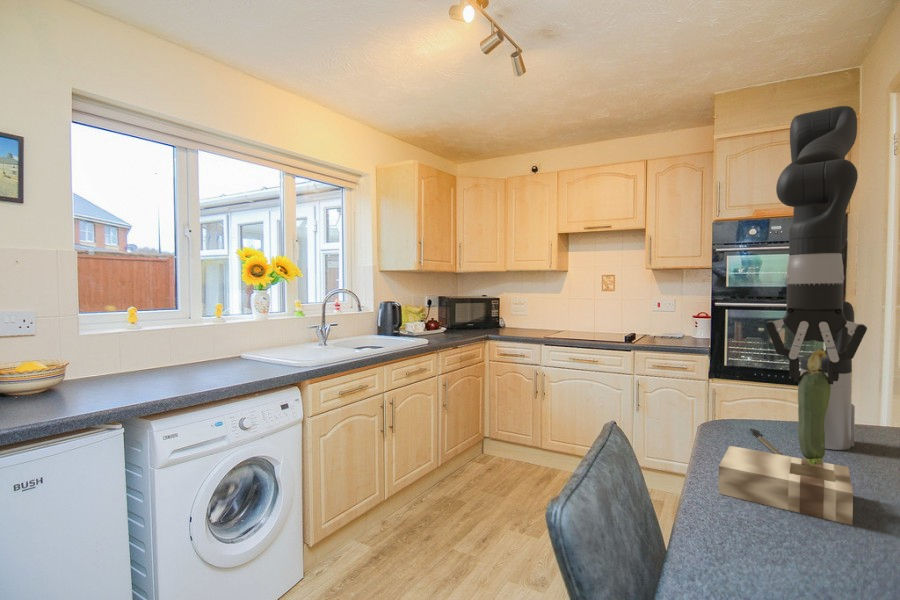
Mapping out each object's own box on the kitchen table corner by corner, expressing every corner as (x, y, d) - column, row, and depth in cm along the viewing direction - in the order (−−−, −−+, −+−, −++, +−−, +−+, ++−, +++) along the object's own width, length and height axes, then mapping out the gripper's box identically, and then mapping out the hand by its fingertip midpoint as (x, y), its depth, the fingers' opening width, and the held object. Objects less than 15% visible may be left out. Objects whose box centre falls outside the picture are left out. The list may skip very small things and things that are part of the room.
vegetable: (790, 459, 81) (791, 346, 80) (813, 458, 81) (814, 345, 81) (812, 469, 77) (813, 350, 76) (836, 468, 77) (838, 349, 76)
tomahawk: (812, 470, 95) (813, 465, 95) (774, 464, 97) (775, 458, 97) (776, 436, 115) (776, 432, 114) (745, 431, 117) (746, 427, 116)
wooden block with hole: (718, 493, 82) (718, 465, 82) (729, 470, 92) (729, 445, 92) (852, 525, 71) (852, 492, 71) (847, 494, 81) (848, 466, 81)
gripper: (868, 280, 77) (867, 383, 77) (765, 282, 85) (764, 374, 86) (873, 280, 71) (871, 391, 71) (761, 282, 80) (760, 380, 80)
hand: (813, 381), depth 79 cm, fingers closed on vegetable, 4 cm apart
